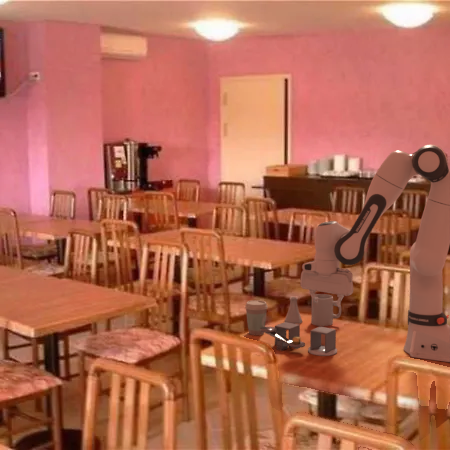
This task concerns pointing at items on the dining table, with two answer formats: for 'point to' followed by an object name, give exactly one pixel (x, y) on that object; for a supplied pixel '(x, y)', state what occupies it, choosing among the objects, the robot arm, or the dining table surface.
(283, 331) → the hood
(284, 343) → the balance
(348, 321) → the dining table surface
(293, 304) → the flask
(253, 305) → the coffee cup
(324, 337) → the block
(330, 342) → the hood
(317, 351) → the saucer
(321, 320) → the mug
